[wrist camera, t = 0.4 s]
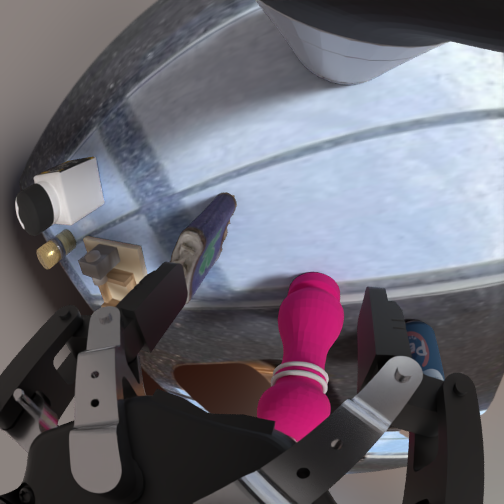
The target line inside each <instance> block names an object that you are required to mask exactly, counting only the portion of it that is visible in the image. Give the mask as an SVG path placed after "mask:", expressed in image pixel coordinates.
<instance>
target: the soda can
mask: <svg viewBox="0 0 504 504" xmlns="http://www.w3.org/2000/svg"><path fill="white" fill-rule="evenodd" d="M405 325H406V330H407V334H408V339H409V344H410V349H411V355H412V359H413V360H415V361H416V362H417V363H418V364H419V365H420V367H421V369H422V371H423V374H425V375H427V376H430V377H433V378H437V379H440V380H443V381H444V380H445V378H444V373H443V368H442V363H441V358H440V354H439V350H438V345H437V341H436V337H435V333H434V331H433V329H432V328H431V327H430V326H429V325H427V324H426V323H424V322H422V321H417V320H414V321H409V322H406V323H405Z"/></svg>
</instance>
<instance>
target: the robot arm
mask: <svg viewBox="0 0 504 504" xmlns="http://www.w3.org/2000/svg"><path fill="white" fill-rule="evenodd" d="M255 1H256V2H257V3H258V5H259V6H260V7H261V8H262V10H263V11H264V12H265V13H266V14H267V15H268V17H269V18H270V19H271V20H272V22H273V23H274V24H275V26H276V27H277V28H278V30H279V31H280V33H281V34H282V35H283V37H284V38H285V40H286V41H287V42H288V44H289V45H290V47H291V48H292V50H293V51H294V53H295V54H296V56H297V57H298V58H299V60H300V61H301V62H302V64H303V65H304V66H305V67H306V68H307V69H309V70H310V71H311V72H312V73H314V74H315V75H317V76H319V77H320V78H322V79H325V80H327V81H330V82H334V83H338V84H347V85H353V84H361V83H364V82H367V81H370V80H372V79H374V78H376V77H378V76H380V75H382V74H384V73H386V72H387V71H389V70H391V69H393V68H395V67H397V66H399V65H401V64H403V63H405V62H407V61H409V60H411V59H413V58H415V57H417V56H419V55H421V54H424V53H426V52H428V51H429V50H432V49H434V48H436V47H438V46H441V45H443V44H445V43H447V42H450V41H451V42H456V43H461V44H465V45H469V46H474V47H478V48H483V49H488V50H492V51H497V52H503V53H504V0H255ZM187 298H188V290H187V285H186V280H185V275H184V270H183V266H182V265H181V264H179V263H172V262H164V263H163V264H162V265H161V266H160V267H159V268H158V269H157V270H156V271H153V272H151V273H149V274H148V275H146V276H145V277H144V278H143V279H142V280H141V281H140V282H139V284H137V285H136V286H135V287H134V289H132V290H131V291H130V292H129V293H128V294H127V295H126V296H125V297H124V298H123V299H122V300H121V301H120V302H119V303H118V304H117V305H116V306H115V307H113V306H106V307H102V308H100V309H98V310H97V311H95V312H94V313H93V314H92V316H82V315H80V313H79V311H78V309H77V307H76V306H73V305H68V306H64V307H62V308H60V309H59V310H58V311H57V312H55V314H54V315H53V316H52V317H51V318H50V319H49V320H48V321H47V322H46V323H45V324H44V325H43V326H42V327H41V328H40V329H39V331H38V332H37V333H36V334H35V335H34V336H33V337H32V338H31V339H30V341H29V342H28V343H27V344H26V345H25V346H24V347H23V349H22V350H21V351H20V352H19V353H18V355H16V357H15V358H14V359H13V360H12V361H11V363H10V364H9V365H8V366H7V368H6V369H5V370H4V371H3V373H2V374H1V375H0V429H1V430H2V431H3V432H4V433H6V434H7V435H8V436H9V437H10V438H12V439H13V440H14V441H16V442H17V443H18V444H19V445H20V446H21V447H22V448H23V449H24V450H25V451H26V452H27V453H28V459H27V467H26V472H25V476H24V479H23V482H22V484H21V485H20V486H19V487H18V488H17V489H15V490H14V491H12V492H9V493H7V494H4V495H0V504H337V503H336V502H335V500H334V499H333V497H332V496H331V494H330V492H329V491H328V489H329V488H331V487H332V486H333V485H334V484H335V483H336V482H337V481H338V480H340V479H341V478H342V477H343V476H344V475H345V474H346V473H347V472H348V471H349V470H350V469H351V468H352V467H353V466H354V465H355V464H356V463H357V462H358V461H359V460H360V459H361V458H362V457H363V456H364V455H365V454H366V453H367V452H368V451H369V449H370V448H371V447H372V446H373V445H374V444H375V443H376V442H377V441H378V439H379V438H380V437H381V436H382V435H383V434H384V432H385V431H386V430H387V429H388V427H389V426H392V427H396V428H399V429H402V430H405V431H409V449H408V463H407V474H406V483H405V490H404V497H403V503H402V504H483V496H484V450H483V438H482V427H481V419H480V411H479V405H478V399H477V394H476V388H475V385H474V383H473V381H472V380H471V379H470V378H469V377H468V376H466V375H464V374H462V373H453V374H450V375H449V376H447V378H446V379H445V380H444V381H443V380H440V379H437V378H433V377H430V376H427V375H425V374H423V371H422V369H421V367H420V365H419V364H418V363H417V362H416V361H415V360H413V359H412V355H411V349H410V344H409V339H408V334H407V330H406V325H405V322H404V316H403V312H402V310H401V308H400V307H399V306H398V304H397V303H396V302H394V301H388V299H387V294H386V290H385V288H377V287H367V288H366V291H365V295H364V299H363V303H362V307H361V310H360V314H359V318H358V326H357V339H358V382H357V395H356V396H355V397H354V398H353V399H351V398H350V399H348V400H346V401H345V402H344V403H343V404H342V405H340V406H339V407H338V408H337V409H336V410H335V411H334V412H333V413H332V414H331V415H330V416H328V417H327V418H326V419H325V420H324V421H323V422H322V423H320V424H319V425H318V426H317V427H316V428H314V429H313V430H312V431H311V432H310V433H308V434H307V435H306V436H305V437H303V438H302V439H301V440H300V441H298V442H295V441H294V440H293V439H292V438H290V437H289V436H288V435H286V434H284V433H282V432H281V431H278V430H276V429H275V421H273V420H267V419H262V418H257V417H252V416H247V415H236V414H232V415H231V414H211V413H207V412H205V411H204V410H202V409H200V408H198V407H197V406H195V405H193V404H192V403H190V402H189V401H187V400H185V399H184V398H182V397H179V396H176V395H173V394H170V393H167V392H164V391H162V390H159V389H157V390H156V391H155V393H154V394H153V396H146V394H145V391H144V386H143V379H142V372H141V364H140V357H139V355H138V353H139V351H140V350H144V351H146V352H149V353H151V352H152V350H153V349H154V347H155V346H156V344H157V343H158V342H159V340H160V339H161V337H162V336H163V335H164V333H165V332H166V330H167V329H168V328H169V326H170V325H171V323H172V322H173V320H174V319H175V318H176V316H177V315H178V314H179V312H180V311H181V309H182V308H183V307H184V305H185V304H186V301H187ZM65 344H66V345H67V346H68V348H69V350H70V351H71V353H70V354H69V355H68V357H67V358H66V359H65V361H64V362H63V363H62V364H61V366H60V367H59V368H58V369H57V370H56V369H55V367H54V365H53V360H54V357H55V356H56V355H57V353H58V352H59V351H60V350H61V349H62V347H63V346H64V345H65ZM74 396H75V409H74V410H75V413H74V418H75V419H74V421H71V422H69V423H66V424H63V425H60V426H58V425H57V424H58V420H59V419H60V417H61V415H62V414H63V412H64V411H65V409H66V408H67V406H68V405H69V403H70V402H71V400H72V399H73V397H74Z"/></svg>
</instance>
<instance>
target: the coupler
mask: <svg viewBox="0 0 504 504" xmlns="http://www.w3.org/2000/svg"><path fill="white" fill-rule="evenodd" d="M75 248H76V240H75V238H74V236H73V234H72V233H71V232H70V231H69V230H67V229H65V230H63V231H62V232H61V233H59V234H58V235H56V236H55V237H53V238H52V239H50V240H49V241H48V242H47V243H46V244H44V245H43V246H41V247H40V248H39V249H38V250H37V256H38V259H39V261H40V263H41V264H42V266H43V267H44V268H46V269H47V270H48V269H50V268H51V267H53V266H54V265H55V264H56V263H57V262H59V261H60V260H61V259H63V258H64V257H65V256H66V255H67V254H68V253H70V252H71V251H72V250H73V249H75Z"/></svg>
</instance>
